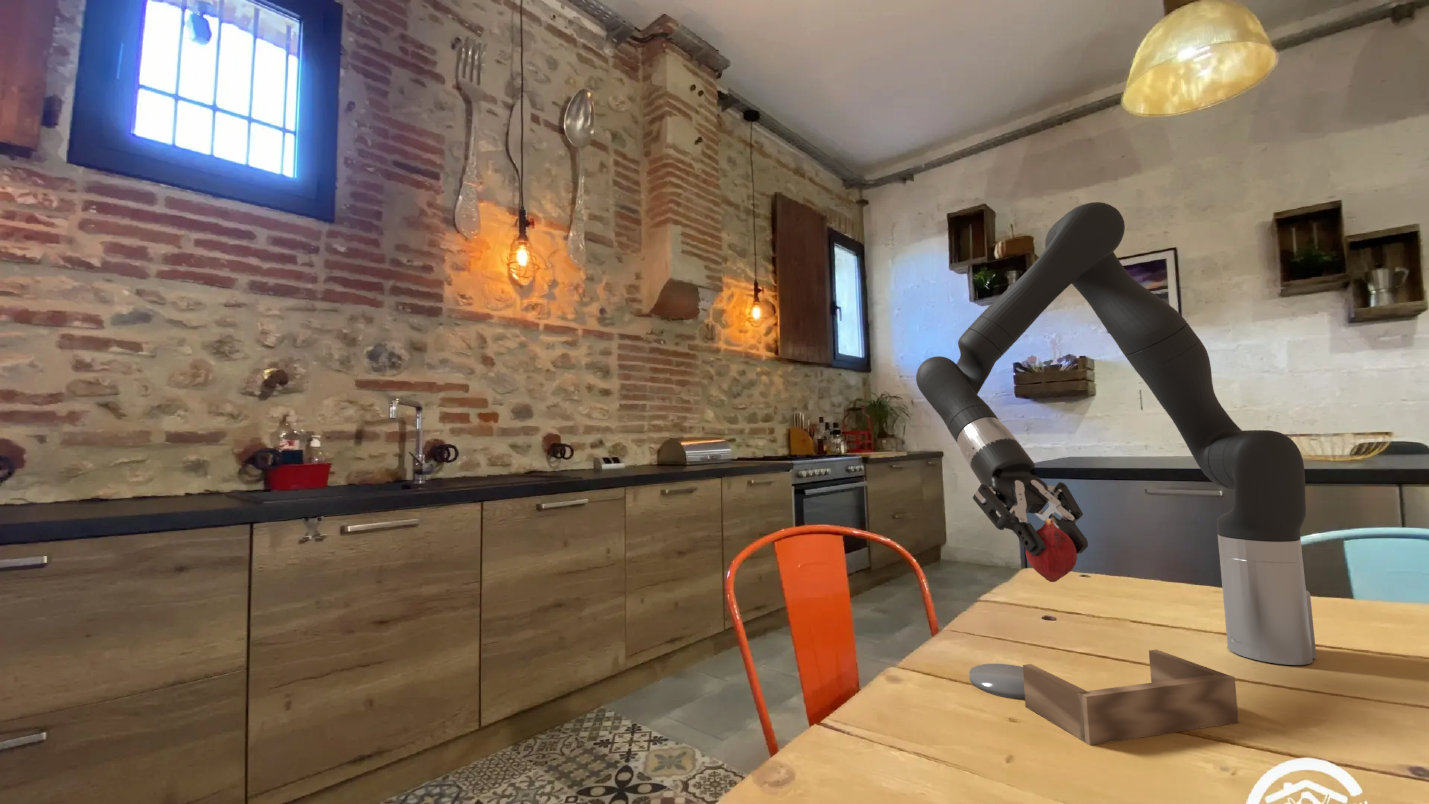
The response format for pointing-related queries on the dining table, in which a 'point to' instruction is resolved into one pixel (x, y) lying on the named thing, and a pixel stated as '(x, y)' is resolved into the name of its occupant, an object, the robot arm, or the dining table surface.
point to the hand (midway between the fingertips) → (1061, 550)
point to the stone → (999, 679)
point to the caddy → (1136, 701)
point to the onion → (1054, 553)
